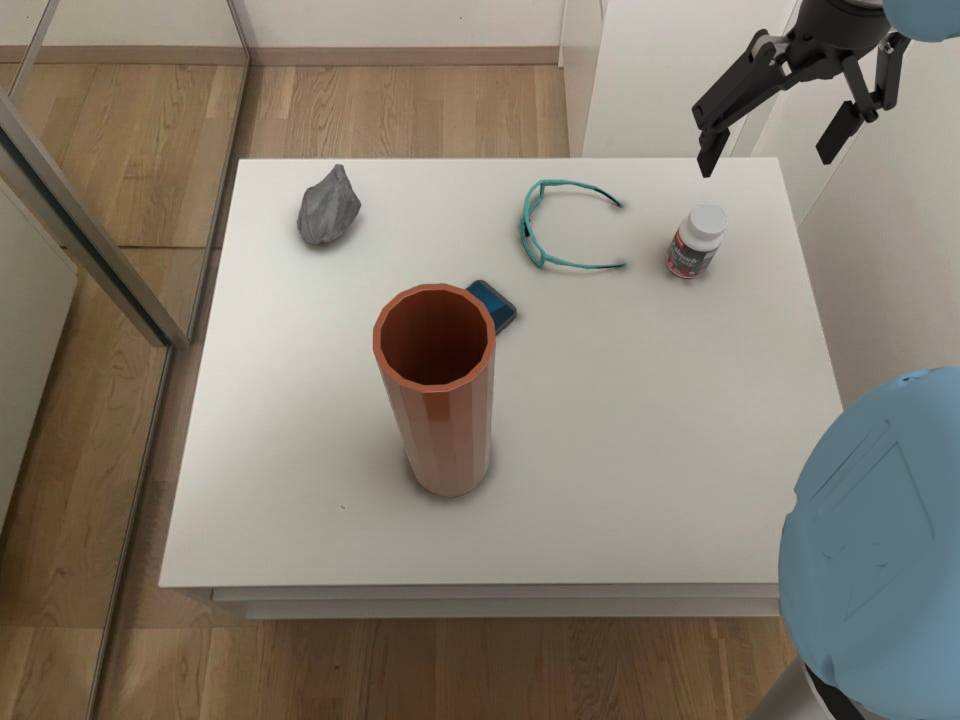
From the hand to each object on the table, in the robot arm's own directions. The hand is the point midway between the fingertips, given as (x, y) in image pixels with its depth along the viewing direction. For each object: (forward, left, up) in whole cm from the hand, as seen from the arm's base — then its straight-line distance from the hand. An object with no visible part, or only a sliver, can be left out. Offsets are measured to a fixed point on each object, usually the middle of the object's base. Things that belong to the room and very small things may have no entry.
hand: (763, 162), depth 73 cm
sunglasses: (+17, +9, -20) cm, 27 cm away
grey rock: (+43, +30, -20) cm, 56 cm away
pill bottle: (+2, +2, -20) cm, 20 cm away
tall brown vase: (+7, +44, -20) cm, 49 cm away
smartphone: (+18, +31, -20) cm, 41 cm away
